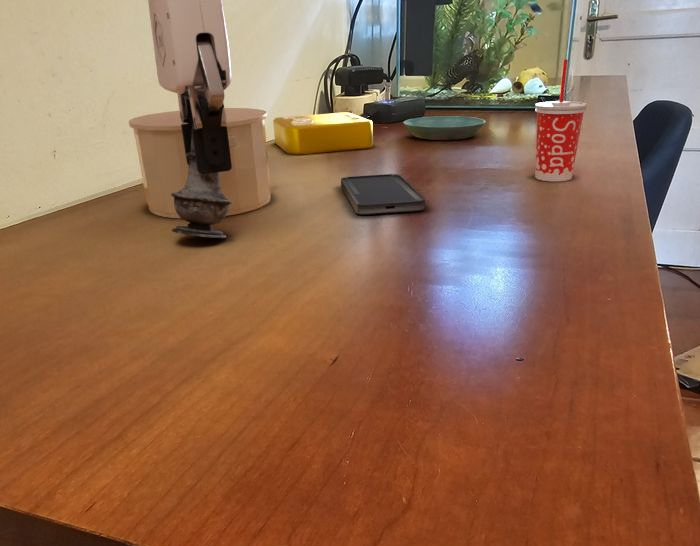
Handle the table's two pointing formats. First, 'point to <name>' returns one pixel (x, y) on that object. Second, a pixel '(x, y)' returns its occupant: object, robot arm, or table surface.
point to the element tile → (323, 133)
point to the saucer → (444, 127)
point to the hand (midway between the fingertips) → (209, 166)
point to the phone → (381, 194)
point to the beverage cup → (557, 136)
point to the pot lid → (173, 123)
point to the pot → (236, 185)
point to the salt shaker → (200, 202)
